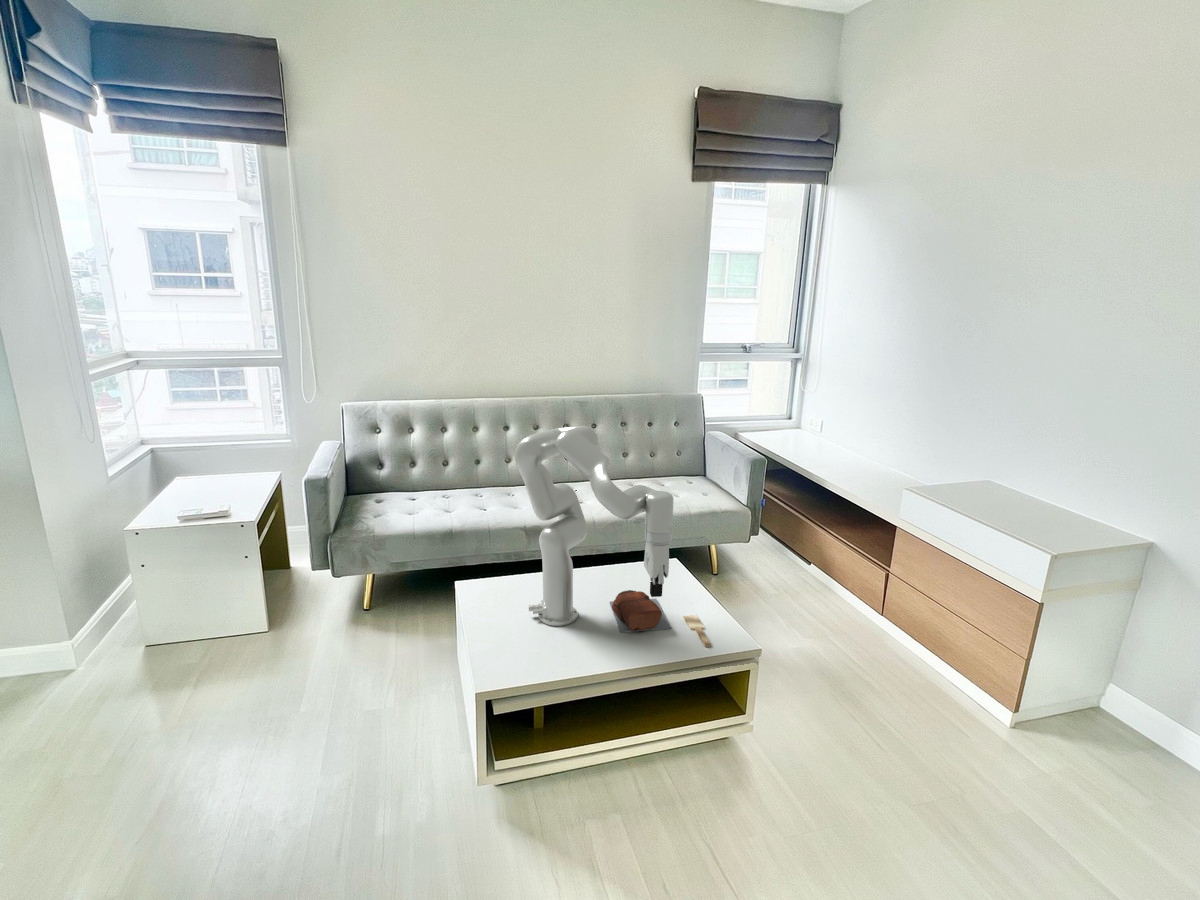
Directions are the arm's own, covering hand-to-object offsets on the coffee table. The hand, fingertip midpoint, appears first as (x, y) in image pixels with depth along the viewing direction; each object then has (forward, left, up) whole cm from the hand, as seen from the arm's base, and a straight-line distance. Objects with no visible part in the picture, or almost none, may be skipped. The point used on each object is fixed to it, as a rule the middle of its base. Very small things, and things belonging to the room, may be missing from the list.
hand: (655, 595), depth 177 cm
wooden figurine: (0, +9, -13) cm, 16 cm away
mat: (0, +20, -17) cm, 26 cm away
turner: (+16, +9, -17) cm, 25 cm away
